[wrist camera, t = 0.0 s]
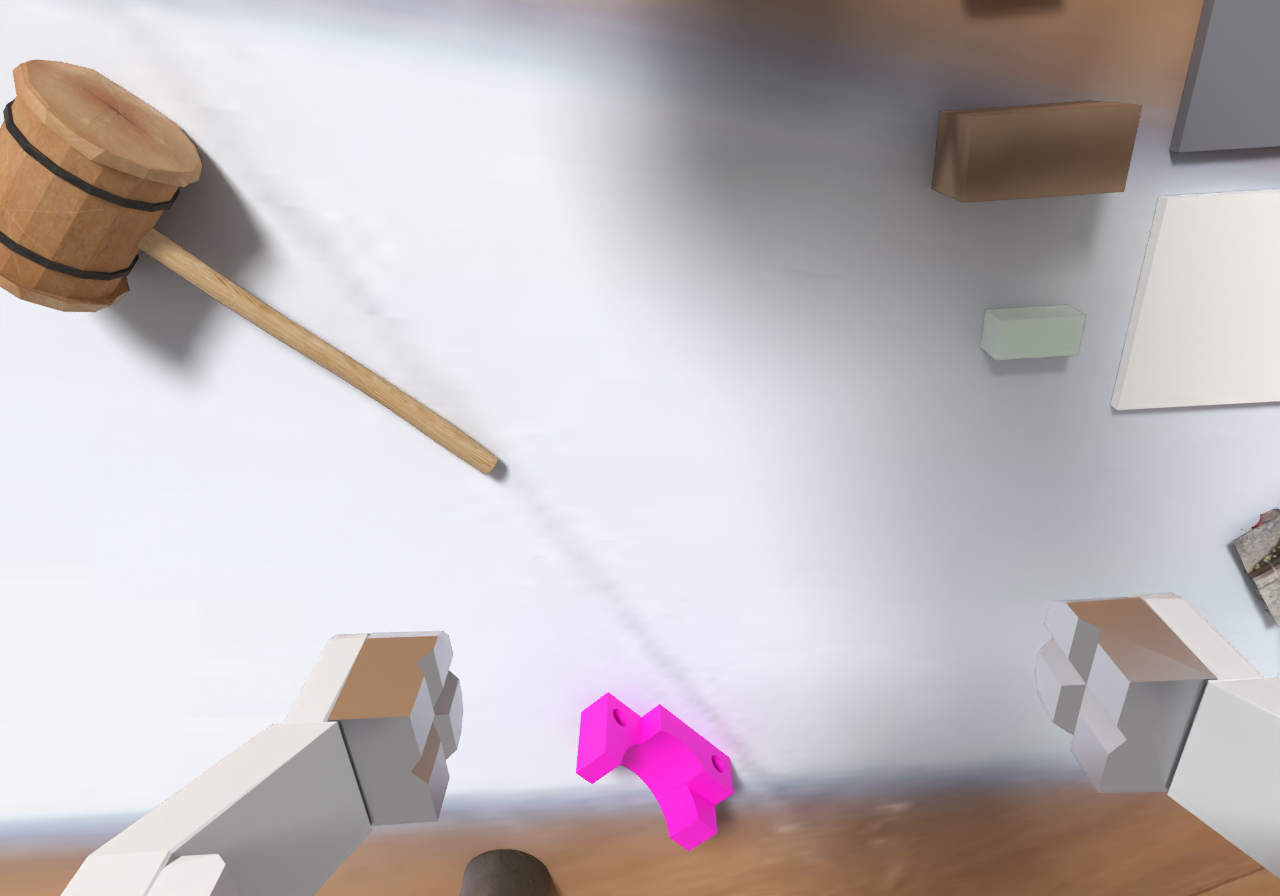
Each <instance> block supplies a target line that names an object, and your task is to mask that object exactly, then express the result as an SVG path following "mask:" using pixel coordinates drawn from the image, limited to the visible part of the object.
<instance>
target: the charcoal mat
mask: <svg viewBox="0 0 1280 896" xmlns="http://www.w3.org/2000/svg"><path fill="white" fill-rule="evenodd" d="M1272 146H1280V0H1205V1H1204V5H1203V9H1202V14H1201V18H1200V22H1199V26H1198V31H1197V35H1196V39H1195V44H1194V48H1193V52H1192V56H1191V61H1190V65H1189V69H1188V74H1187V78H1186V82H1185V87H1184V91H1183V95H1182V99H1181V104H1180V108H1179V112H1178V117H1177V121H1176V125H1175V130H1174V134H1173V138H1172V142H1171V147H1170V151H1173V152H1194V151H1210V150H1226V149H1241V148H1257V147H1272Z"/></svg>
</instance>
